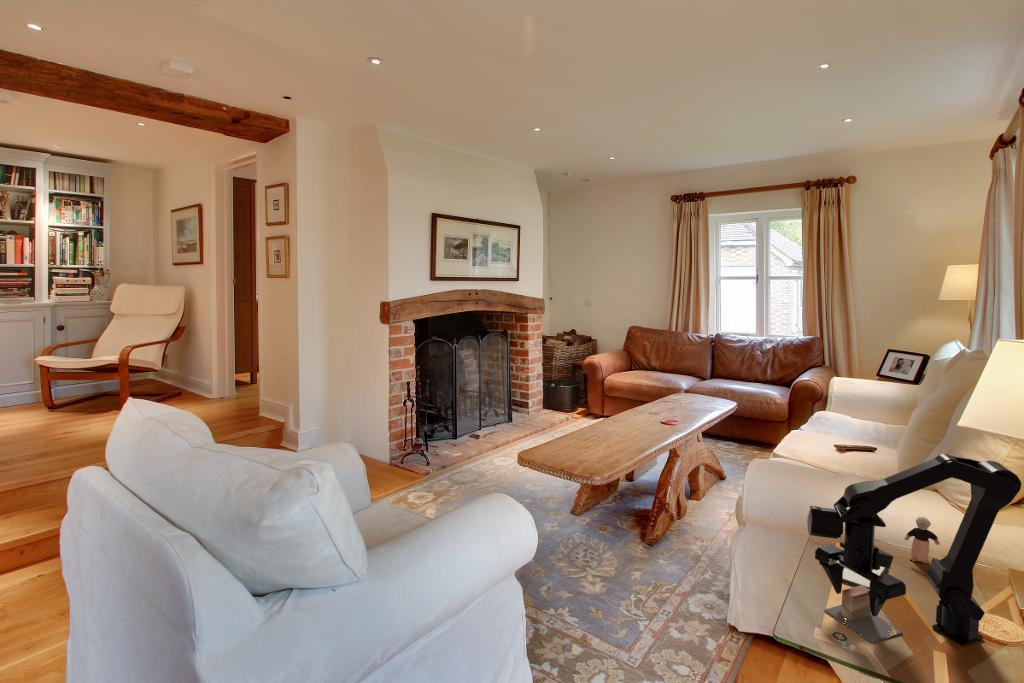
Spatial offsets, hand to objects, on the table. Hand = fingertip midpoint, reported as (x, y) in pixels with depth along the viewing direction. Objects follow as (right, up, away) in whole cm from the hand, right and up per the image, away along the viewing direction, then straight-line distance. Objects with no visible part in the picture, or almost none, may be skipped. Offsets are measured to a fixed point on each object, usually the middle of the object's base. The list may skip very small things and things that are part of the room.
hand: (856, 604), depth 125 cm
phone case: (+13, -1, +18) cm, 22 cm away
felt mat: (0, -3, -2) cm, 4 cm away
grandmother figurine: (+33, 0, +23) cm, 40 cm away
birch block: (0, -3, 0) cm, 3 cm away
